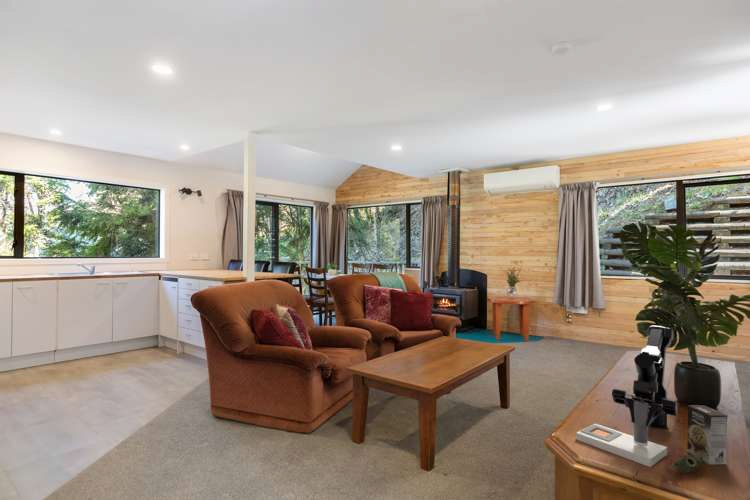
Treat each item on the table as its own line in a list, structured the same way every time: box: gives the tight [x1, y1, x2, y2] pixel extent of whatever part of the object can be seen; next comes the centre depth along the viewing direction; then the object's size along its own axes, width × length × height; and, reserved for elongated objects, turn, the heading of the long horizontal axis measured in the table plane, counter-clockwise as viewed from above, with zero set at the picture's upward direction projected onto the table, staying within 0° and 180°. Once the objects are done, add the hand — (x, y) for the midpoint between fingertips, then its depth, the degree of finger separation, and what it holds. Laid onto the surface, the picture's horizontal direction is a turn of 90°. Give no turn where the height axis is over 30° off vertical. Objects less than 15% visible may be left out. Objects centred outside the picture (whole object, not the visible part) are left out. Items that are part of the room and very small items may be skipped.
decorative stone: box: [671, 454, 703, 474], centre depth 132 cm, size 11×8×5 cm
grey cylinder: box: [633, 400, 649, 446], centre depth 143 cm, size 4×4×14 cm
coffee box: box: [686, 404, 728, 466], centre depth 141 cm, size 9×6×16 cm
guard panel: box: [575, 423, 668, 468], centre depth 148 cm, size 24×14×3 cm, turn 37°
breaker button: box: [592, 429, 611, 437], centre depth 154 cm, size 5×5×2 cm
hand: (640, 424), depth 142 cm, fingers closed on grey cylinder, 4 cm apart
